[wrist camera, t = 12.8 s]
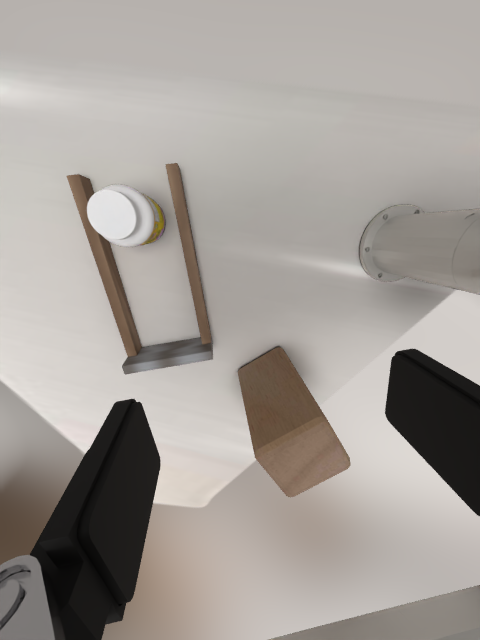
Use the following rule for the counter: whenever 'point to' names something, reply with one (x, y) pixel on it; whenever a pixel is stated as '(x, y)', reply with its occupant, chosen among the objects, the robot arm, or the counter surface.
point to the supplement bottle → (125, 216)
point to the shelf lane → (114, 289)
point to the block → (288, 425)
